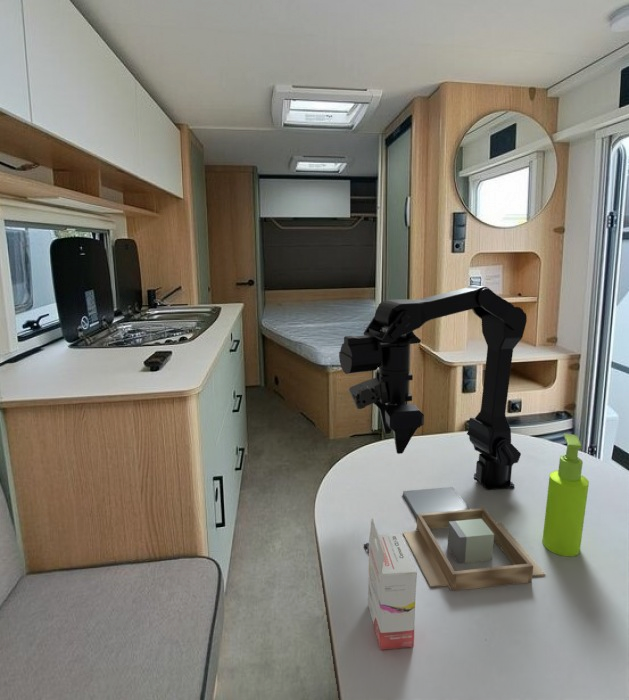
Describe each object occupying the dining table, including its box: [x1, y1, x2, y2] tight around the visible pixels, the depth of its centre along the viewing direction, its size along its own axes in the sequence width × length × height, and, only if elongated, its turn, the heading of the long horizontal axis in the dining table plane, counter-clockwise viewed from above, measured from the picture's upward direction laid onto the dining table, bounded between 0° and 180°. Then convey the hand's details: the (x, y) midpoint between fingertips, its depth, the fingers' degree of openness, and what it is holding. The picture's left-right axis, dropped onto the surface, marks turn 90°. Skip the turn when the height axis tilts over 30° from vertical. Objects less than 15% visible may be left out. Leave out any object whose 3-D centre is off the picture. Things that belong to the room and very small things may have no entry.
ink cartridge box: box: [367, 518, 418, 651], centre depth 64 cm, size 9×5×15 cm, turn 5°
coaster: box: [402, 486, 471, 519], centre depth 95 cm, size 11×10×1 cm
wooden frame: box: [402, 507, 546, 592], centre depth 80 cm, size 19×16×3 cm
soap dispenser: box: [542, 433, 590, 557], centre depth 80 cm, size 6×7×20 cm
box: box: [446, 519, 495, 564], centre depth 80 cm, size 6×4×5 cm
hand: (393, 442), depth 92 cm, fingers open, 9 cm apart
